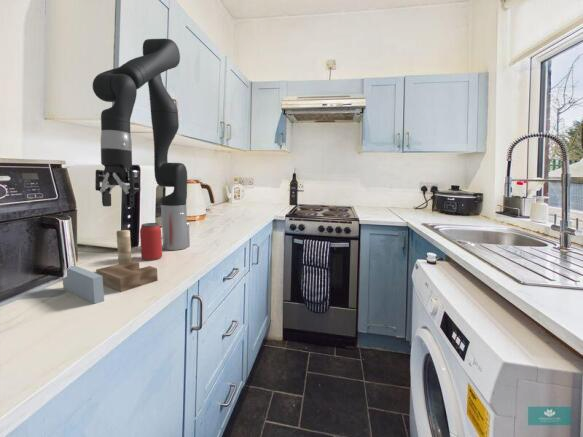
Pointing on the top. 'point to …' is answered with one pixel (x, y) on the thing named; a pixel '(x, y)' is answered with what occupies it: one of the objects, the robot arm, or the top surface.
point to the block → (127, 275)
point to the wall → (84, 284)
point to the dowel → (124, 246)
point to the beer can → (151, 241)
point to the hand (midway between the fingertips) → (118, 206)
